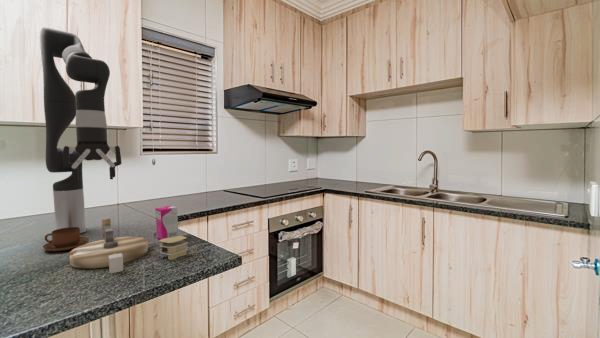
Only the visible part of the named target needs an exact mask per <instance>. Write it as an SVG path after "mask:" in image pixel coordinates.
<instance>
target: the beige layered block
mask: <svg viewBox="0 0 600 338" xmlns="http://www.w3.org/2000/svg"><path fill="white" fill-rule="evenodd" d="M185 239H187V237H186V236H183V235H179V236H176V237H170V238H165V239H161V240H159V242H160V244H159V246H158V247H160V251H159V253H160V254H161V255H162V254H163V255H167V259H168V260H176V259H177V258H179V257H183V256H187V251H188V249H189V248H187V244H188V241H187V240H185Z"/></svg>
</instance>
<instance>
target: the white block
mask: <svg viewBox="0 0 600 338" xmlns="http://www.w3.org/2000/svg"><path fill="white" fill-rule="evenodd" d="M108 258H109V266H108V270H109V273H110V274H115V273H118V272H123V271H124V263H123V256H122V253H119V254H116V253H114V254H113V255H109V256H108Z"/></svg>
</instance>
